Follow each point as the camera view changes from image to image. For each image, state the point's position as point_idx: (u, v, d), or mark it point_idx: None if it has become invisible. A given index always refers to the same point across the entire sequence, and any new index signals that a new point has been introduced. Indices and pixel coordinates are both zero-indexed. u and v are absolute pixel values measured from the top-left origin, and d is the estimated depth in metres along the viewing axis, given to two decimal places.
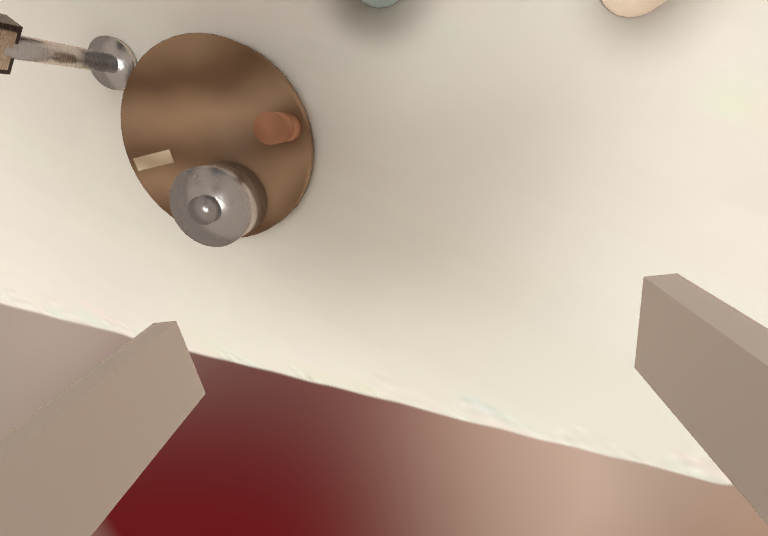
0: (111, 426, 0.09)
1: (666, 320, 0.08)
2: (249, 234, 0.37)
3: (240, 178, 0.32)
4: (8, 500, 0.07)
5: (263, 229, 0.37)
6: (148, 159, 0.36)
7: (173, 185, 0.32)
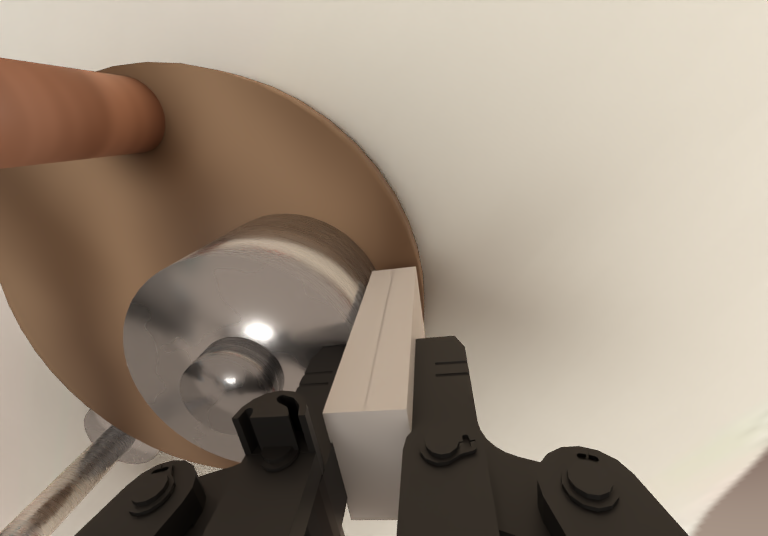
0: None
1: None
2: None
3: None
4: None
5: (404, 241, 0.13)
6: None
7: (188, 437, 0.11)
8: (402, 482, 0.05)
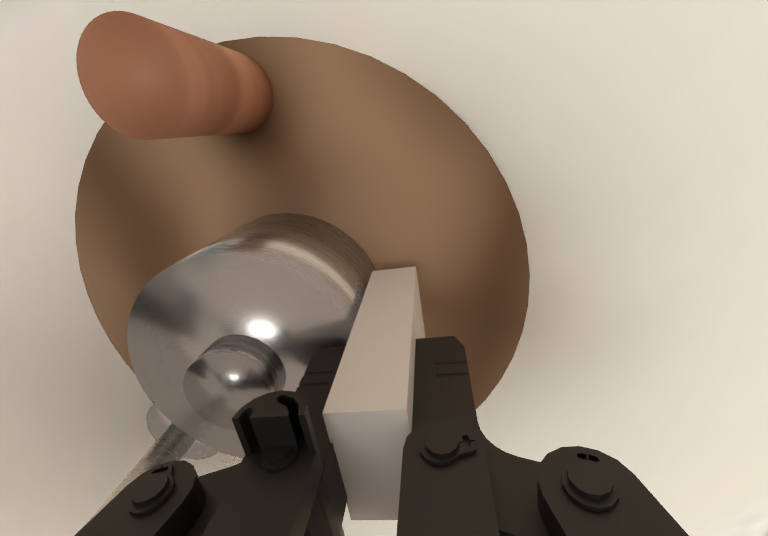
0: None
1: None
2: (524, 266, 0.13)
3: None
4: None
5: (516, 223, 0.13)
6: None
7: (193, 434, 0.12)
8: (402, 482, 0.05)
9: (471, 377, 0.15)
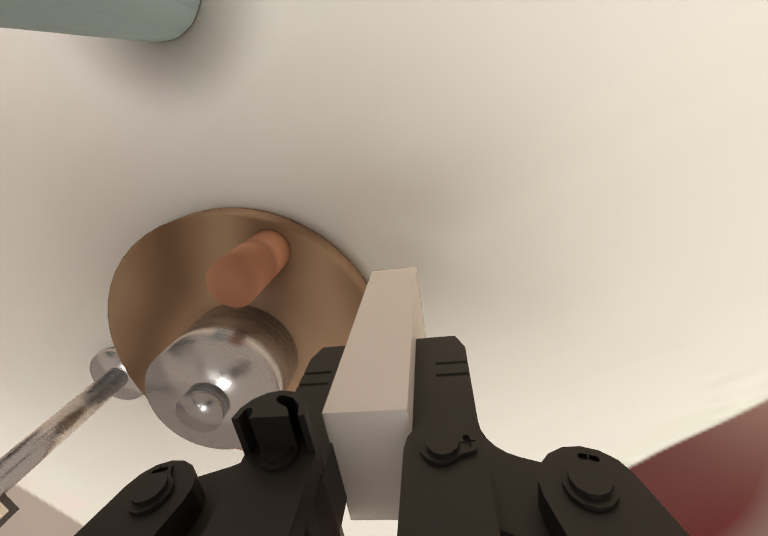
0: None
1: None
2: None
3: (201, 329, 0.20)
4: None
5: None
6: None
7: (158, 414, 0.20)
8: (402, 482, 0.05)
9: None
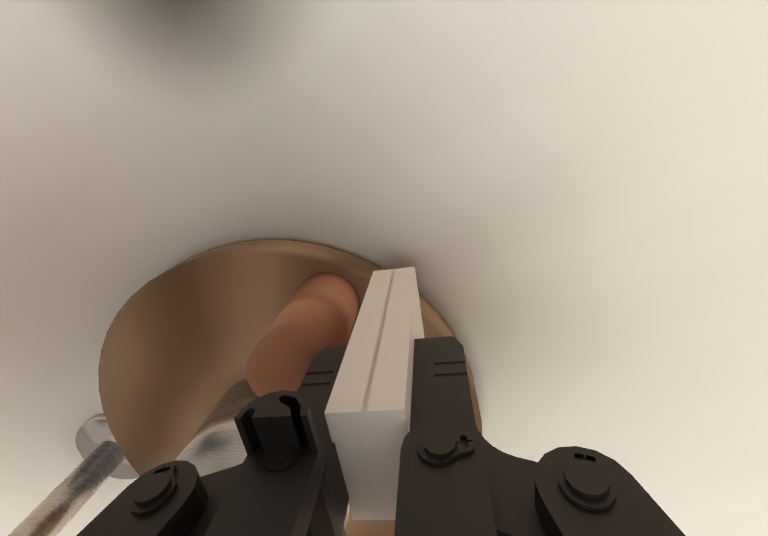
0: None
1: None
2: None
3: (232, 425, 0.13)
4: None
5: None
6: None
7: None
8: (400, 482, 0.05)
9: (387, 534, 0.19)
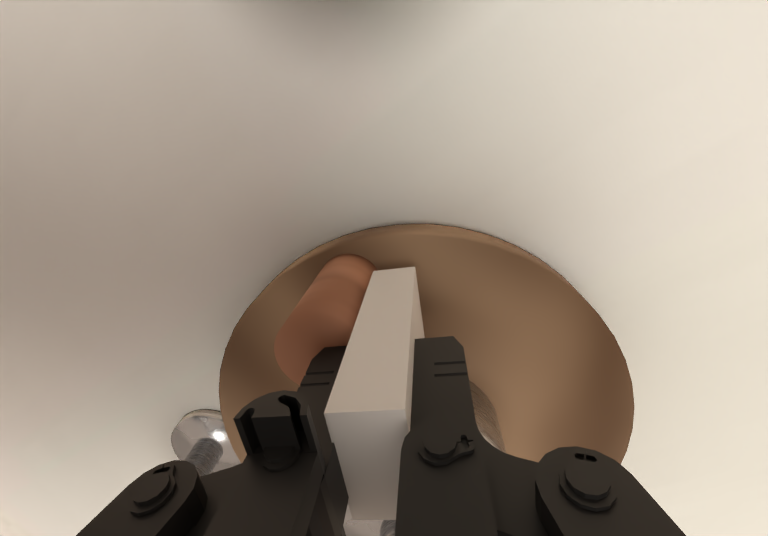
0: None
1: None
2: (626, 377, 0.14)
3: None
4: None
5: (613, 344, 0.14)
6: None
7: None
8: (400, 482, 0.05)
9: None
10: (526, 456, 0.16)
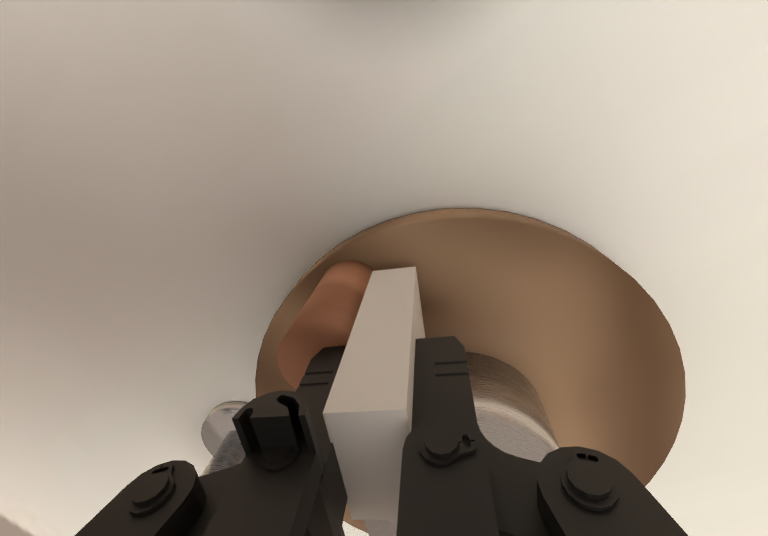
0: None
1: None
2: (660, 319, 0.13)
3: None
4: None
5: (636, 288, 0.13)
6: None
7: None
8: (402, 482, 0.05)
9: (650, 428, 0.15)
10: (577, 424, 0.16)
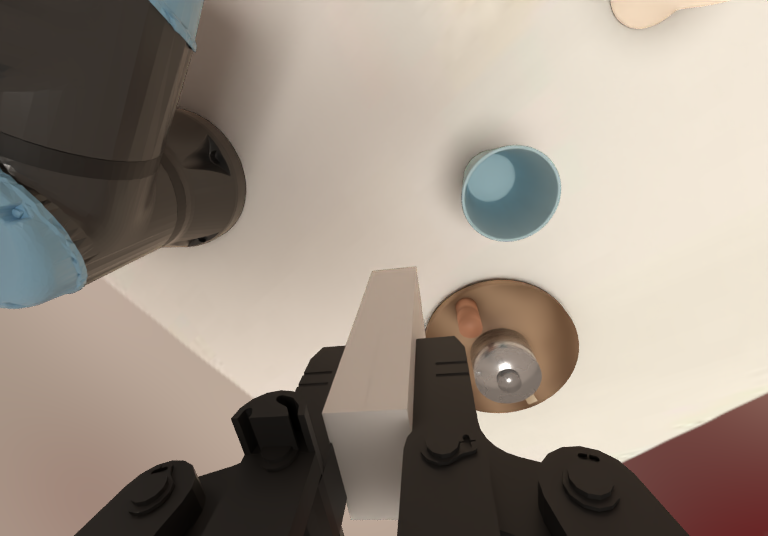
0: None
1: None
2: (568, 317, 0.42)
3: (477, 356, 0.41)
4: None
5: (559, 307, 0.41)
6: None
7: (497, 401, 0.41)
8: (403, 482, 0.05)
9: (568, 355, 0.43)
10: (543, 354, 0.44)
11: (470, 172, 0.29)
